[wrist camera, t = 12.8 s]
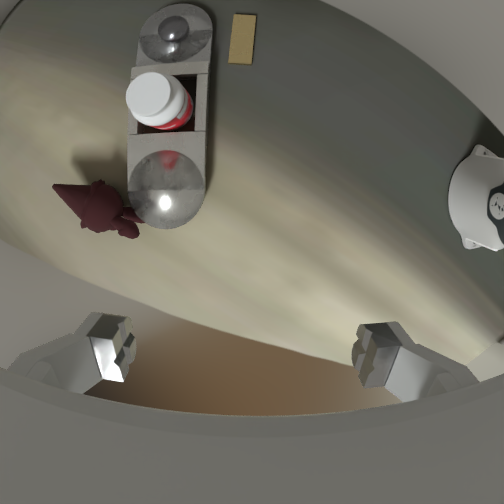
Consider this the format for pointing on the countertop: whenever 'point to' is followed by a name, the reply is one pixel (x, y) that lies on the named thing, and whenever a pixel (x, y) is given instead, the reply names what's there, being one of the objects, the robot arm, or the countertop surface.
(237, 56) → the link plate
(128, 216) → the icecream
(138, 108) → the pill bottle
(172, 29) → the flat tray with frame
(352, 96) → the countertop surface
